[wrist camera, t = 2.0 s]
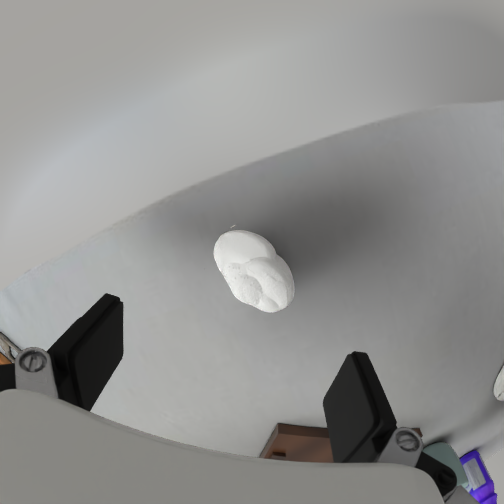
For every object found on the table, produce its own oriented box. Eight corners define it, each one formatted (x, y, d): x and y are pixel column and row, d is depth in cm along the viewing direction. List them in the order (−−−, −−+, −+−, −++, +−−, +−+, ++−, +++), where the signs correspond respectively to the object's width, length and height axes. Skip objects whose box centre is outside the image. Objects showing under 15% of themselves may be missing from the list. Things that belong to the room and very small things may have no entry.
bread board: (419, 428, 28) (424, 438, 26) (373, 475, 32) (375, 484, 30) (277, 423, 27) (278, 437, 25) (250, 471, 31) (249, 483, 29)
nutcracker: (49, 376, 28) (48, 395, 29) (52, 372, 28) (50, 392, 30) (-26, 310, 26) (-23, 333, 27) (-22, 308, 26) (-20, 330, 28)
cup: (411, 446, 29) (429, 498, 20) (454, 429, 28) (477, 475, 19) (401, 468, 31) (415, 514, 22) (442, 453, 31) (459, 495, 21)
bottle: (455, 458, 32) (481, 523, 15) (479, 444, 31) (508, 505, 14) (450, 471, 34) (472, 530, 17) (473, 458, 33) (497, 515, 16)
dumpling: (307, 278, 22) (308, 314, 19) (249, 298, 24) (241, 333, 21) (265, 201, 19) (258, 229, 16) (202, 231, 21) (185, 261, 18)
